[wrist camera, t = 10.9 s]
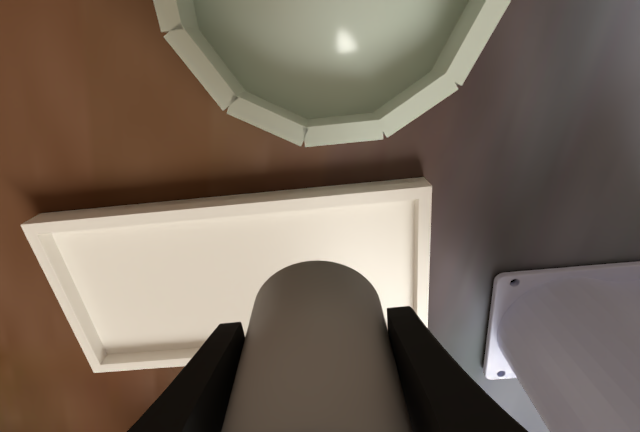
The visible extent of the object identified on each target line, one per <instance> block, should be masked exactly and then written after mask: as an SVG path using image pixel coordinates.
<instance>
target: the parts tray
mask: <svg viewBox="0 0 640 432" xmlns="http://www.w3.org/2000/svg"><path fill="white" fill-rule="evenodd" d="M431 204H432V186H431V184H430V183H429V182H428V181H427V180H426V179H425V177H418V178H407V179H396V180H386V181H375V182H365V183H354V184H344V185H333V186H322V187H312V188H301V189H291V190H280V191H270V192H259V193H248V194H238V195H227V196H217V197H206V198H196V199H185V200H174V201H164V202H153V203H143V204H132V205H122V206H111V207H101V208H90V209H79V210H69V211H58V212H48V213H40V214H38V215H37V216H35V217H33V218H31V219H30V220H28V221H26V222H24V223H23V224H21V227H22V229H23V231H24V233H25V235H26V237H27V239H28V241H29V243H30V245H31V247H32V249H33V251H34V253H35V255H36V257H37V259H38V261H39V263H40V265H41V267H42V269H43V271H44V273H45V275H46V277H47V279H48V281H49V283H50V285H51V287H52V289H53V291H54V293H55V295H56V297H57V299H58V301H59V303H60V305H61V307H62V310H63V312H64V314H65V316H66V318H67V320H68V322H69V324H70V326H71V328H72V330H73V332H74V334H75V336H76V338H77V340H78V342H79V344H80V346H81V348H82V350H83V352H84V354H85V356H86V358H87V360H88V362H89V364H90V366H91V368H92V370H93V372H94V373H99V372H112V371H125V370H139V369H152V368H165V367H178V366H186V365H187V363H188V362H189V361H190V360H191V359H192V357H193V356H194V355H195V354H196V352H197V351H198V350H199V349H200V347H201V346H202V345H203V344H204V342H205V341H206V340H207V339H208V337H209V336H210V335H211V334H212V332H213V331H214V330H215V329H216V328H217V326H218V325H219V324H222V323H233V322H241V323H242V327H243V331H244V335H245V337H246V333H247V329H248V325H249V321H250V317H251V313H252V309H253V306H254V302H255V299H256V296H257V293H258V292H259V290H260V288H261V287H262V285H263V284H264V283H265V282H266V281H267V280H268V279H269V278H270V277H271V276H272V275H273V274H275V273H276V272H278V271H279V270H281V269H283V268H285V267H287V266H290V265H292V264H296V263H300V262H305V261H316V260H320V261H330V262H336V263H339V264H342V265H345V266H348V267H350V268H352V269H354V270H356V271H357V272H359V273H360V274H362V275H363V276H364V277H365V278H366V279H367V280H368V281H369V282H370V283H371V284H372V285H373V287H374V288H375V290H376V292H377V294H378V296H379V299H380V302H381V306H382V310H383V314H384V318H385V322H386V326H387V330H388V325H387V308H392V307H403V306H410V307H411V308H412V309H413V310H414V311H415V313H416V314H417V315H418V317H419V318H420V319H421V321H422V322H423V323H424V325H425V326H426V327H427V328H428V298H429V266H430V235H431Z"/></svg>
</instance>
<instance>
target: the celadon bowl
mask: <svg viewBox="0 0 640 432" xmlns="http://www.w3.org/2000/svg"><path fill="white" fill-rule="evenodd" d="M153 2H154V6H155V10H156V14H157V18H158V21H159V25H160V29H161V32H165V33H167V34H166V35H165V36H164V38H165V39H166V41H167V42H168V43H169V44H170V45H171V47H172V48H173V49H174V50H175V52H176V53H177V54H178V55H179V57H180V58H181V59H182V60H183V62H184V63H185V64H186V65H187V67H188V68H189V69H190V70H191V72H192V73H193V74H194V75H195V77H196V78H197V79H198V80H199V82H200V83H201V84H202V85H203V86H204V88H205V89H206V90H207V91H208V93H209V94H210V95H211V96H212V98H213V99H214V100H215V101H216V103H217V104H218V105H219V106H220V108H221V109H222V110H225V109H227V108H228V107H229V108H228V111H227V114H229V115H231V116H233V117H236V118H238V119H240V120H242V121H245V122H247V123H249V124H251V125H254V126H256V127H258V128H261V129H263V130H265V131H267V132H270V133H272V134H274V135H276V136H279V137H281V138H283V139H285V140H288V141H290V142H292V143H294V144H297V145H299V146H301V145H302V143H303V141H305V147H311V146H321V145H332V144H342V143H352V142H362V141H372V140H382V139H383V133H384V135H385V136H386V137H387V138H388V137H389V136H391V135H392V134H394V133H395V132H397V131H398V130H400V129H401V128H402V127H404V126H405V125H407V124H408V123H410V122H411V121H413V120H414V119H416V118H417V117H419V116H420V115H422V114H423V113H424V112H426V111H427V110H429V109H430V108H432V107H433V106H435V105H436V104H438V103H439V102H441V101H442V100H444V99H445V98H446V97H448V96H449V95H451V94H452V93H454V92H455V91H457V90H458V88H457V86H456V85H461V86H462V84H463V83H464V81H465V79H466V78H467V76H468V74H469V72H470V71H471V69H472V67H473V66H474V64H475V62H476V60H477V59H478V57H479V55H480V53H481V52H482V50H483V48H484V47H485V45H486V43H487V41H488V40H489V38H490V36H491V34H492V33H493V31H494V29H495V28H496V26H497V24H498V22H499V21H500V19H501V17H502V15H503V14H504V12H505V10H506V9H507V7H508V5H509V3H510V2H511V0H153Z"/></svg>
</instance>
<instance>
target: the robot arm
mask: <svg viewBox="0 0 640 432" xmlns="http://www.w3.org/2000/svg"><path fill="white" fill-rule="evenodd" d="M513 279H516V280H515V281H514V282H511V281H512V280H513ZM510 282H511V283H510ZM387 325H388V334H389V338H390V342H391V346H392V350H393V354H394V358H395V362H396V366H397V370H398V374H399V378H400V382H401V386H402V390H403V394H404V398H405V402H406V406H407V410H408V414H409V418H410V422H411V426H412V430H413V432H528V431H527V430H526V429H525V428H524V427H522V426H521V425H520V424H519V423H518V422H517V421H516V420H514V419H513V418H512V417H511V416H510V415H509V414H508V413H507V412H506V411H505V410H503V409H502V408H501V407H500V406H499V405H498V404H497V403H496V402H495V401H494V400H493V399H492V398H491V397H490V396H489V395H488V394H487V393H486V392H485V391H484V390H483V389H482V388H481V387H480V386H479V385H478V384H477V383H476V382H475V381H474V380H473V379H472V378H471V377H470V376H469V375H468V374H467V373H466V372H465V371H464V370H463V369H462V368H461V367H460V366H459V364H458V363H457V362H456V361H455V360H454V359H453V358H452V357H451V356H450V354H449V353H448V352H447V351H446V350H445V349H444V348H443V347H442V345H441V344H440V343H439V342H438V341H437V339H436V338H435V337H434V336H433V335H432V333H431V332H430V331H429V330H428V328H427V327H426V326H425V325H424V323H423V322H422V321H421V319H420V318H419V317H418V315H417V314H416V313H415V311H414V310H413V309H412V308H411V307H410V306H403V307H392V308H387ZM244 341H245V335H244V331H243V327H242V323H241V322H233V323H222V324H219V325H218V326H217V328H216V329H215V330H214V331H213V332H212V334H211V335H210V336H209V337H208V339H207V340H206V341H205V342H204V344H203V345H202V346H201V347H200V349H199V350H198V351H197V352H196V354H195V355H194V356H193V357H192V359H191V360H190V361H189V362H188V363H187V365H186V366H185V367H184V368H183V369H182V371H181V372H180V373H179V374H178V375H177V377H176V378H175V379H174V380H173V381H172V383H171V384H170V385H169V386H168V387H167V389H166V390H165V391H164V392H163V393H162V394H161V395H160V396H159V398H158V399H157V400H156V401H155V402H154V403H153V404H152V405H151V406H150V407H149V409H148V410H147V411H146V412H145V413H144V414H143V415H142V416H141V417H140V418H139V420H138V421H137V422H136V423H135V424H134V425H133V426H132V427H131V428H130V429H129V430H128V431H127V432H221V431H222V427H223V423H224V419H225V415H226V411H227V407H228V403H229V399H230V395H231V391H232V388H233V384H234V380H235V376H236V372H237V368H238V364H239V360H240V356H241V352H242V348H243V345H244ZM483 373H484V375H485V377H486V378H488V379H506V378H517V379H518V380H519V382H520V384H521V385H522V387H523V389H524V390H525V392H526V393H527V395H528V397H529V398H530V400H531V402H532V403H533V405H534V407H535V408H536V410H537V411H538V413H539V415H540V416H541V418H542V420H543V421H544V423H545V425H546V426H547V428H548V429H549V431H550V432H640V261H636V262H624V263H612V264H600V265H588V266H576V267H564V268H552V269H540V270H528V271H516V272H504V273H500V274H498V275H497V276H496V277H495V279H494V284H493V292H492V300H491V309H490V317H489V325H488V333H487V341H486V349H485V358H484V366H483Z"/></svg>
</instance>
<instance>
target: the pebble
mask: <svg viewBox="0 0 640 432" xmlns="http://www.w3.org/2000/svg"><path fill="white" fill-rule="evenodd" d="M221 432H413V430H412V426H411V422H410V418H409V414H408V410H407V406H406V402H405V398H404V394H403V390H402V386H401V382H400V378H399V374H398V370H397V366H396V362H395V358H394V354H393V350H392V346H391V342H390V338H389V334H388V330H387V326H386V322H385V318H384V314H383V310H382V306H381V302H380V299H379V296H378V294H377V292H376V290H375V288H374V287H373V285H372V284H371V283H370V282H369V281H368V280H367V279H366V278H365V277H364V276H363V275H362V274H360V273H359V272H357V271H356V270H354V269H352V268H350V267H348V266H345V265H342V264H339V263H336V262H330V261H320V260H316V261H305V262H300V263H296V264H292V265H290V266H287V267H285V268H283V269H281V270H279V271H278V272H276V273H275V274H273V275H272V276H271V277H270V278H269V279H268V280H267V281H266V282H265V283H264V284H263V285H262V287H261V288H260V290H259V292H258V293H257V296H256V299H255V302H254V306H253V309H252V313H251V317H250V321H249V325H248V329H247V333H246V337H245V341H244V345H243V348H242V352H241V356H240V360H239V364H238V368H237V372H236V376H235V380H234V384H233V388H232V391H231V395H230V399H229V403H228V407H227V411H226V415H225V419H224V423H223V427H222V431H221Z"/></svg>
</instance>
